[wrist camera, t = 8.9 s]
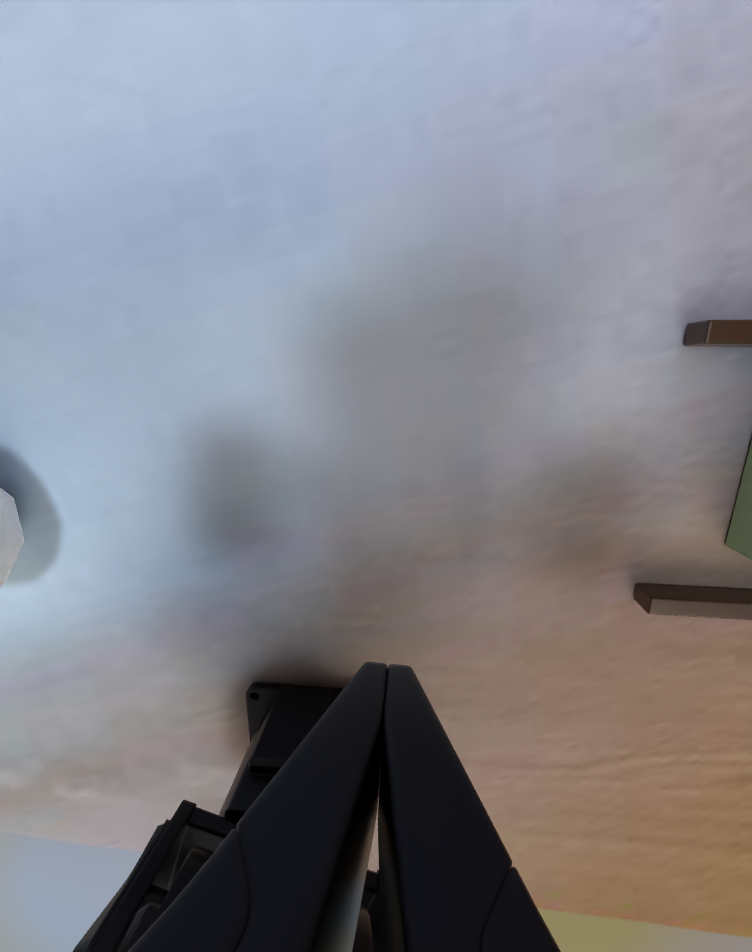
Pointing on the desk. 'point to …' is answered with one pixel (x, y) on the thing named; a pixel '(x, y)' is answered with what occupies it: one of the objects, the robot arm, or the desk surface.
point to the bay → (703, 598)
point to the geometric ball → (9, 535)
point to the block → (743, 514)
